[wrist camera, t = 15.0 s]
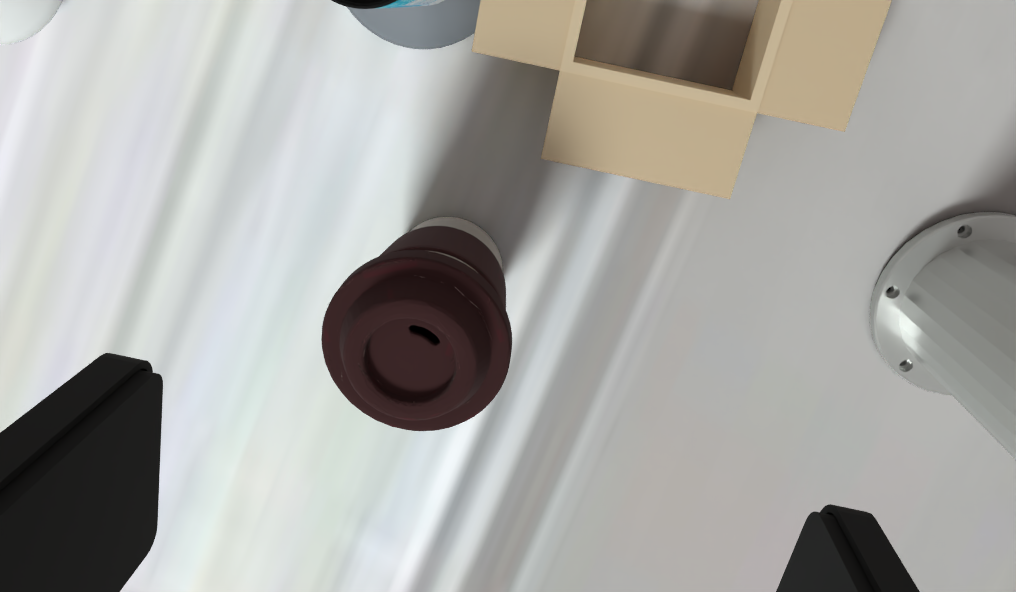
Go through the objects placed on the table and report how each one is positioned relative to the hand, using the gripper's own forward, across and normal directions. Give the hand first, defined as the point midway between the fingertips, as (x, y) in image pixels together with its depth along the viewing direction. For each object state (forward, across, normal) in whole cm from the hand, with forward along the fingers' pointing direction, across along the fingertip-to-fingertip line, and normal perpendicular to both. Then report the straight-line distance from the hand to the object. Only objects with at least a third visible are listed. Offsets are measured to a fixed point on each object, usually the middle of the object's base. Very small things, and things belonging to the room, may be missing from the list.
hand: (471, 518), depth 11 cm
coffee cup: (+40, +4, +11) cm, 42 cm away
